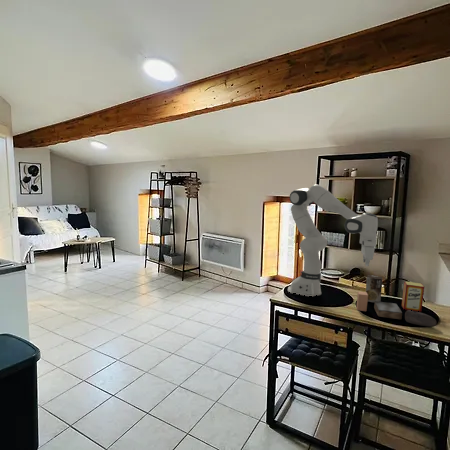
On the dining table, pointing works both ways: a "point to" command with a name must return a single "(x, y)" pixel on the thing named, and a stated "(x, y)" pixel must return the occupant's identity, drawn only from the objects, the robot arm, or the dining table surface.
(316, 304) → the dining table surface
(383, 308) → the block
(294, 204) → the robot arm
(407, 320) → the perforated stone tool
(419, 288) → the ginger box
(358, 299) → the terracotta block
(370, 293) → the coffee box
